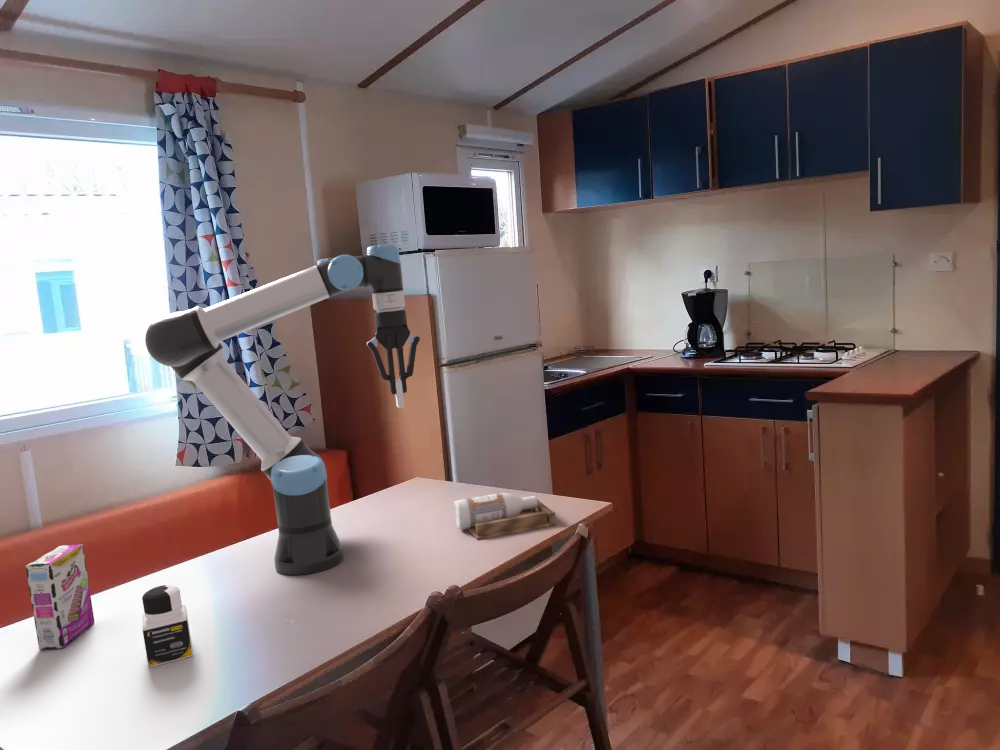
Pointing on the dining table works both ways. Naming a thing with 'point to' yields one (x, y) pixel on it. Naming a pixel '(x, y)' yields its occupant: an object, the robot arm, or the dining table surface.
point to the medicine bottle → (165, 626)
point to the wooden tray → (516, 523)
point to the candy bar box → (60, 596)
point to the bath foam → (490, 508)
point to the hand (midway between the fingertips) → (400, 406)
